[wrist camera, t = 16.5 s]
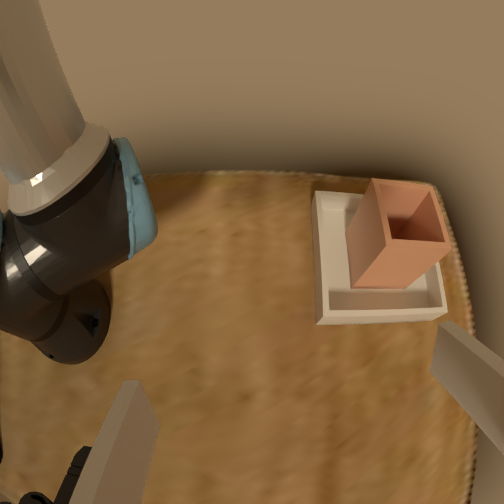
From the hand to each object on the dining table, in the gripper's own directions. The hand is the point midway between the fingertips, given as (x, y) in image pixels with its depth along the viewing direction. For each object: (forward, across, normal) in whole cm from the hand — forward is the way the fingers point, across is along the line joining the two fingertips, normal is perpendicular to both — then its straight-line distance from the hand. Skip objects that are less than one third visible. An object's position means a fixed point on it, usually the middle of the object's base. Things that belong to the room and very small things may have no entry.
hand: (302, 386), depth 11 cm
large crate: (+30, +18, -6) cm, 35 cm away
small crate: (+29, +18, -5) cm, 35 cm away
